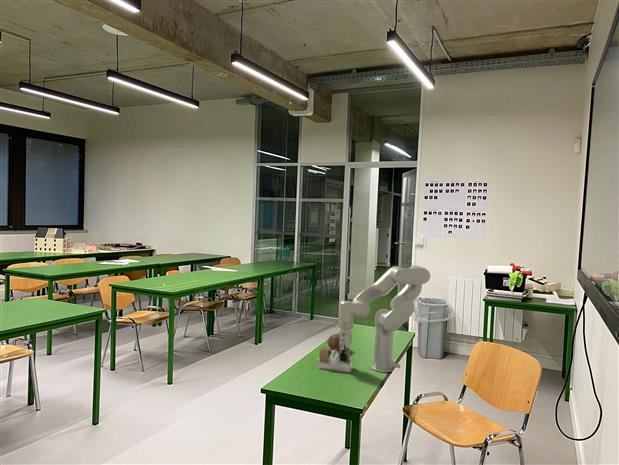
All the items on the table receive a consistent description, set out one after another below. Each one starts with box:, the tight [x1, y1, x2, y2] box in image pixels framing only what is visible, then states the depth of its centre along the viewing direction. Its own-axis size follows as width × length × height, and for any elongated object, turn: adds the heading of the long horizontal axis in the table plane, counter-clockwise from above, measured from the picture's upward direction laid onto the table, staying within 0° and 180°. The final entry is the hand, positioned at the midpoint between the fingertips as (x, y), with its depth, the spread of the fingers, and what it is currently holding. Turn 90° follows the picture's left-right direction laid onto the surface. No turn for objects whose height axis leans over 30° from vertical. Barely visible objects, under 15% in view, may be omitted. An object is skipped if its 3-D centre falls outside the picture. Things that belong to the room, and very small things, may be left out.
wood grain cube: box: [337, 347, 351, 362], centre depth 229 cm, size 5×5×6 cm
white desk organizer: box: [317, 347, 354, 373], centre depth 231 cm, size 17×8×9 cm, turn 73°
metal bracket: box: [315, 347, 339, 362], centre depth 244 cm, size 14×6×15 cm
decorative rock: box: [326, 333, 340, 351], centre depth 262 cm, size 13×11×10 cm
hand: (344, 359), depth 229 cm, fingers closed on wood grain cube, 4 cm apart
